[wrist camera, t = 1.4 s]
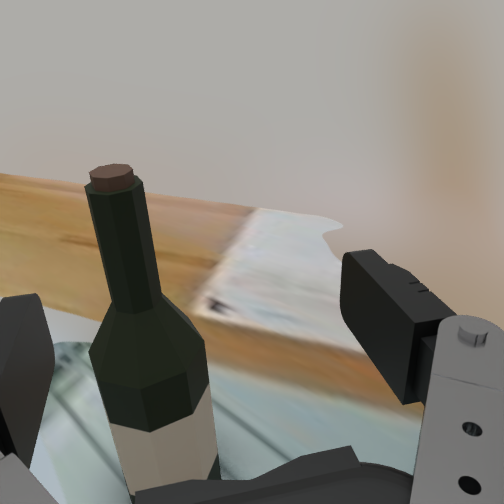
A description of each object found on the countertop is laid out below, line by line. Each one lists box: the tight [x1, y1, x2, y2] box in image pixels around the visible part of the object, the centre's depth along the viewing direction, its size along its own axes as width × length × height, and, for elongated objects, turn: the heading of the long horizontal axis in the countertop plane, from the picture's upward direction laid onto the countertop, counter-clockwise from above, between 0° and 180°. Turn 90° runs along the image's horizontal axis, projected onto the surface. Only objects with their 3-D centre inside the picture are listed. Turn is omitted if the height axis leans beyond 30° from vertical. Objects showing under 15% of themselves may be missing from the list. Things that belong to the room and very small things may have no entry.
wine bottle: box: [84, 164, 221, 504], centre depth 34 cm, size 8×8×30 cm
